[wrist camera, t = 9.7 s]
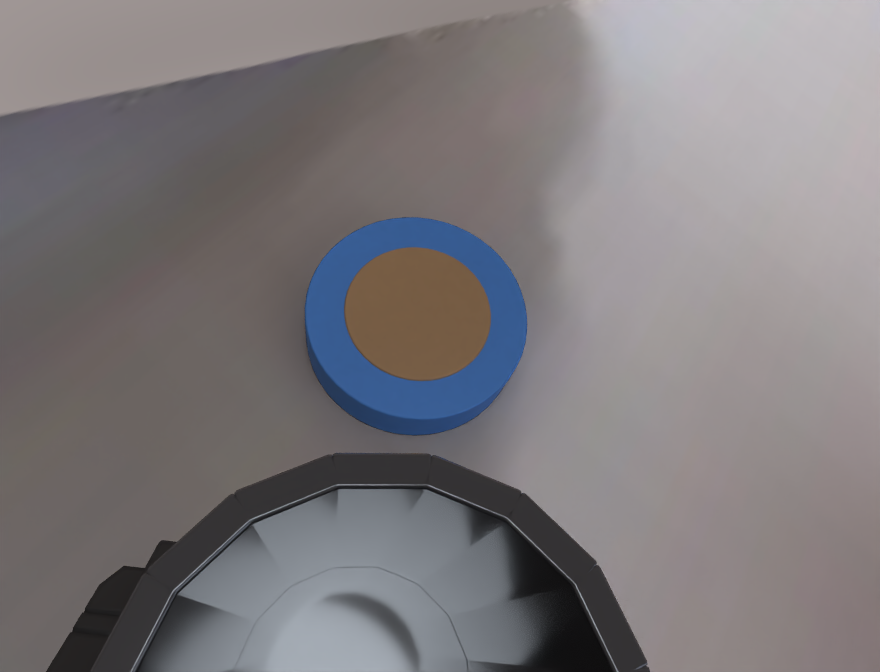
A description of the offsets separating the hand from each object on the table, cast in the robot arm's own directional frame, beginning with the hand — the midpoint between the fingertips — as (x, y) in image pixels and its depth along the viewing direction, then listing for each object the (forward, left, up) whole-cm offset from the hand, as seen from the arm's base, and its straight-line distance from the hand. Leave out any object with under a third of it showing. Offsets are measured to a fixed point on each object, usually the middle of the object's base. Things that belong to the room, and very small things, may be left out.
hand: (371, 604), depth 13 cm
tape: (-7, -11, -16) cm, 21 cm away
